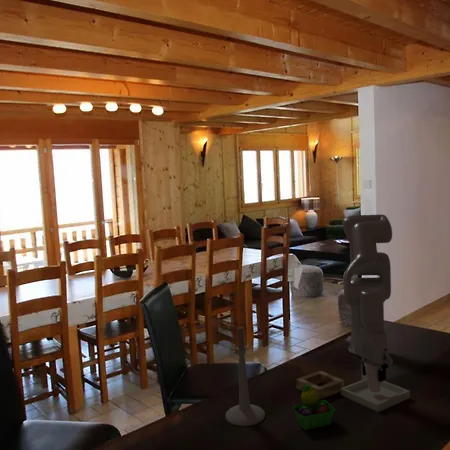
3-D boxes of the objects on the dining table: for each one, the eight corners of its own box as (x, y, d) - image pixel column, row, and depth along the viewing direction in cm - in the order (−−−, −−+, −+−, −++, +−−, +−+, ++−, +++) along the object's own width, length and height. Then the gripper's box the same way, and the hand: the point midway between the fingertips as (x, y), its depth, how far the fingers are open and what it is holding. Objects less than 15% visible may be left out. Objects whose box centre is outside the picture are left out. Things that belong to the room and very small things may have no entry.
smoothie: (362, 392, 167) (361, 352, 166) (366, 384, 173) (365, 346, 171) (382, 395, 164) (381, 354, 163) (385, 387, 170) (384, 348, 168)
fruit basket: (302, 433, 148) (300, 397, 147) (290, 419, 157) (289, 385, 156) (336, 426, 151) (335, 390, 150) (323, 413, 160) (322, 379, 158)
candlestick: (262, 426, 153) (257, 332, 150) (222, 425, 156) (216, 332, 153) (267, 407, 166) (262, 320, 163) (229, 406, 168) (224, 320, 165)
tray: (340, 395, 171) (340, 388, 171) (372, 382, 180) (372, 376, 179) (377, 412, 158) (377, 405, 157) (409, 397, 166) (409, 390, 166)
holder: (296, 388, 179) (296, 379, 178) (321, 379, 185) (320, 370, 185) (319, 400, 169) (319, 390, 168) (344, 390, 175) (344, 380, 175)
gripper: (345, 322, 172) (347, 372, 173) (385, 334, 157) (387, 389, 159) (360, 318, 176) (362, 367, 177) (401, 329, 161) (402, 382, 163)
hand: (374, 377), depth 168 cm, fingers closed on smoothie, 6 cm apart
